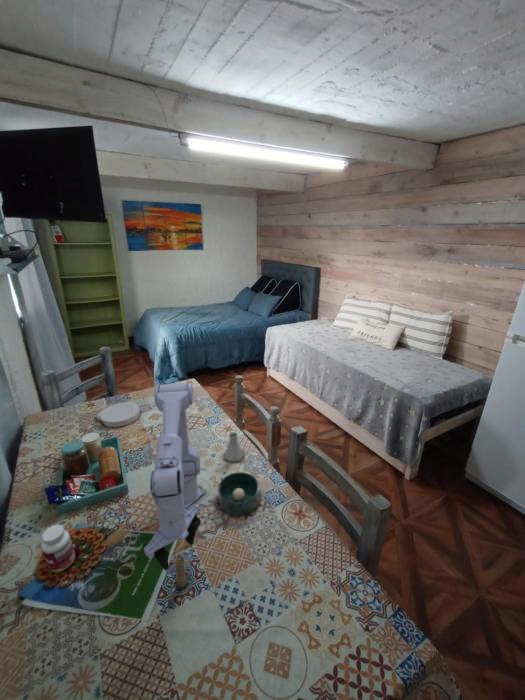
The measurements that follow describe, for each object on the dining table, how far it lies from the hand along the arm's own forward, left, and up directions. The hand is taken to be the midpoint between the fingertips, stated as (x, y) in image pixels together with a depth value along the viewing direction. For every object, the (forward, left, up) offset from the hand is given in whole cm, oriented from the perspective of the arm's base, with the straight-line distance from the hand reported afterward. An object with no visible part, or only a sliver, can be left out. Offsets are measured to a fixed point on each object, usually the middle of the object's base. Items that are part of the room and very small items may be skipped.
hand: (177, 554), depth 76 cm
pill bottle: (-30, -15, -11) cm, 35 cm away
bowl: (-5, +29, -10) cm, 31 cm away
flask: (-20, +44, -11) cm, 49 cm away
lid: (-82, +33, -11) cm, 89 cm away
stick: (0, 0, -10) cm, 10 cm away
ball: (-4, +28, -8) cm, 30 cm away
